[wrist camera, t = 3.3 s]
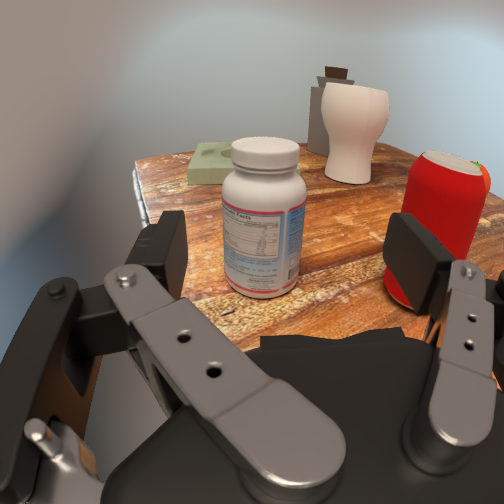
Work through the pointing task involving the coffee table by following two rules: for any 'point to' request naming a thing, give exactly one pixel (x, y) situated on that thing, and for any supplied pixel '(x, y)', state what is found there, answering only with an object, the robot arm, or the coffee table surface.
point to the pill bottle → (263, 217)
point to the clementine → (485, 175)
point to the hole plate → (212, 164)
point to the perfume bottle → (317, 129)
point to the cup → (352, 129)
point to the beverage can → (443, 204)
